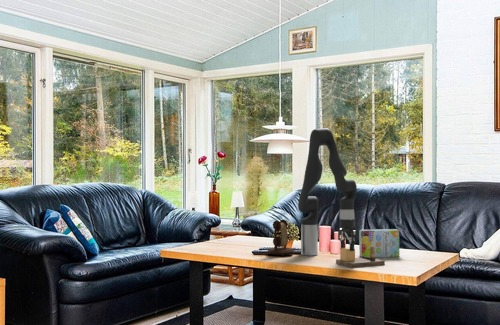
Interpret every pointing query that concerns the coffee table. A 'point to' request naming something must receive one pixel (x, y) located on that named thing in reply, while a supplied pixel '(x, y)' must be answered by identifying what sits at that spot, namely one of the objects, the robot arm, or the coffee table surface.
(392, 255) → the snack box
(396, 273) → the coffee table surface
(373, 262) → the board
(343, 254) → the tan wooden block
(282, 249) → the brown upright piece
